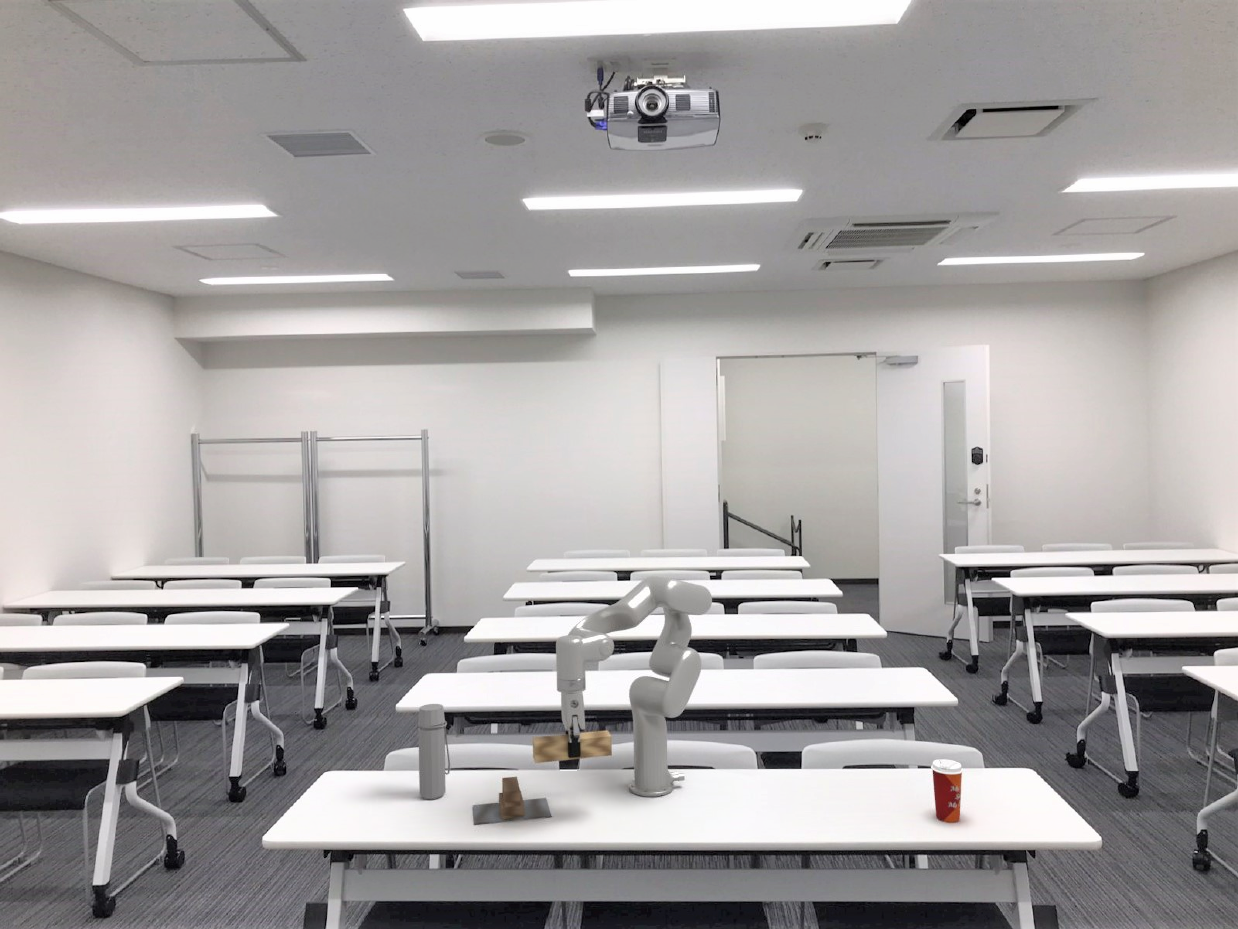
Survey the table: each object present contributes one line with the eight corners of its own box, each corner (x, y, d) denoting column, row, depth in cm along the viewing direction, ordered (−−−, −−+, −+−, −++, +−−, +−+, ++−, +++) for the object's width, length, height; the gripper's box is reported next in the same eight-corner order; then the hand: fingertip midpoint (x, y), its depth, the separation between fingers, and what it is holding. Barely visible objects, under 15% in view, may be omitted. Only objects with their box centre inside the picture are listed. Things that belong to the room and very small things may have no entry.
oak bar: (607, 749, 224) (607, 730, 224) (611, 755, 219) (611, 736, 219) (533, 756, 220) (532, 737, 220) (535, 763, 215) (534, 743, 215)
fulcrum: (546, 799, 233) (545, 772, 233) (551, 816, 221) (550, 788, 221) (472, 806, 229) (472, 779, 229) (474, 825, 217) (473, 796, 217)
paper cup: (961, 827, 210) (960, 771, 210) (929, 820, 214) (927, 765, 214) (966, 815, 217) (965, 761, 217) (935, 809, 221) (934, 756, 221)
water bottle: (427, 803, 232) (426, 712, 231) (414, 795, 237) (412, 706, 237) (457, 794, 238) (455, 705, 238) (443, 786, 244) (441, 700, 243)
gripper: (591, 691, 212) (592, 763, 212) (579, 674, 229) (581, 741, 229) (561, 693, 210) (563, 766, 210) (552, 677, 227) (553, 744, 227)
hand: (572, 752), depth 220 cm, fingers closed on oak bar, 5 cm apart
